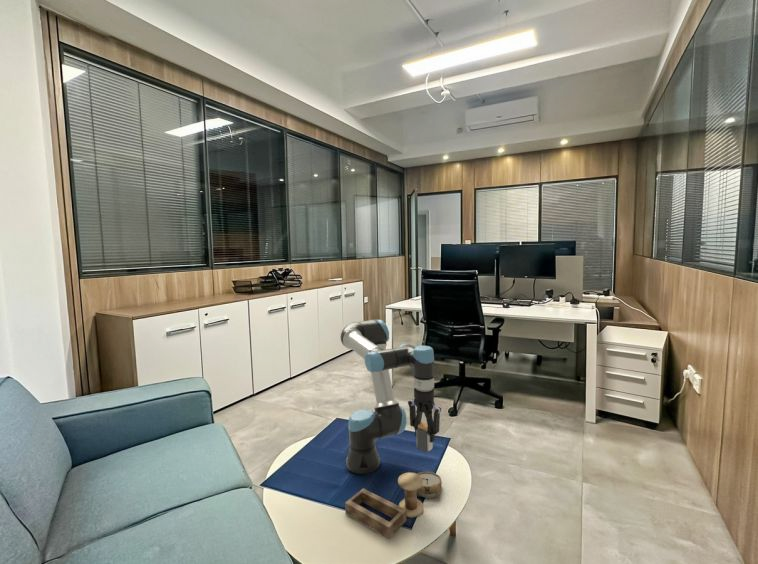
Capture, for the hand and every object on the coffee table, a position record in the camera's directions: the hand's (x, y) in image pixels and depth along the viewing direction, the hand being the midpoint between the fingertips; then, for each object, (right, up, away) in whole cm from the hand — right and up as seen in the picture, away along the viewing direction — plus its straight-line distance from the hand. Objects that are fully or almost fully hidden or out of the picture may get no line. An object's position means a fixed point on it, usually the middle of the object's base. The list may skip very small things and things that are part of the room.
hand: (424, 447), depth 137 cm
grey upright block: (0, 0, 0) cm, 0 cm away
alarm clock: (+2, -20, +6) cm, 21 cm away
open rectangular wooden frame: (-19, -21, -8) cm, 29 cm away
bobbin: (-6, -21, -4) cm, 22 cm away
